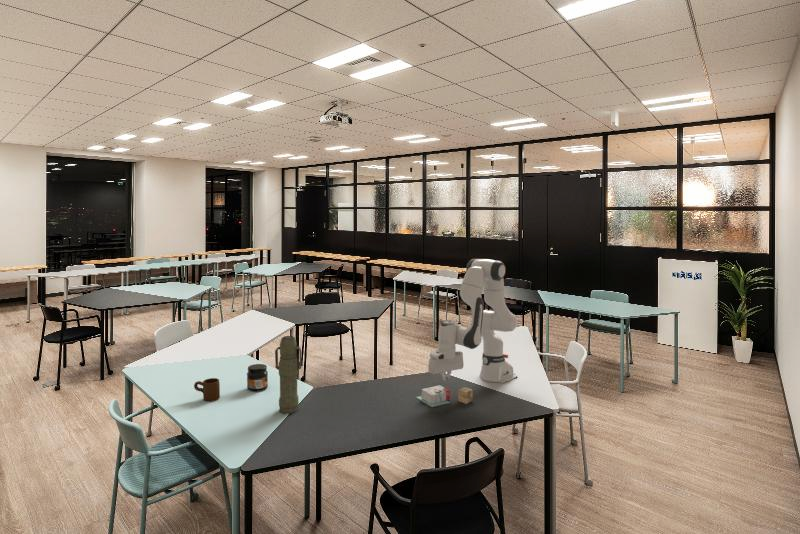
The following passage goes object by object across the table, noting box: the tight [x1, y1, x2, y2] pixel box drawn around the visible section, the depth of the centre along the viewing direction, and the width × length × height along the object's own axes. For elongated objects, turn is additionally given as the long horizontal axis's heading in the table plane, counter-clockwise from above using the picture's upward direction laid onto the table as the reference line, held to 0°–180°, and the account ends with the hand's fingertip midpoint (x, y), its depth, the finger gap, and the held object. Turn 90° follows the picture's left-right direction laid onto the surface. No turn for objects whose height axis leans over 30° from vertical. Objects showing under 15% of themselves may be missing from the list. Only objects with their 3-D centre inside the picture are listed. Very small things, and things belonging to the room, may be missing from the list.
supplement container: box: [246, 363, 269, 393], centre depth 241 cm, size 10×10×12 cm
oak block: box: [457, 386, 473, 405], centre depth 228 cm, size 5×5×6 cm
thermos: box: [274, 335, 302, 415], centre depth 213 cm, size 9×12×35 cm
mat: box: [415, 395, 451, 408], centre depth 229 cm, size 11×14×1 cm
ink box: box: [420, 384, 451, 404], centre depth 229 cm, size 9×5×12 cm
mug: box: [193, 377, 221, 403], centre depth 226 cm, size 12×8×9 cm, turn 96°
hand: (445, 379), depth 232 cm, fingers closed
